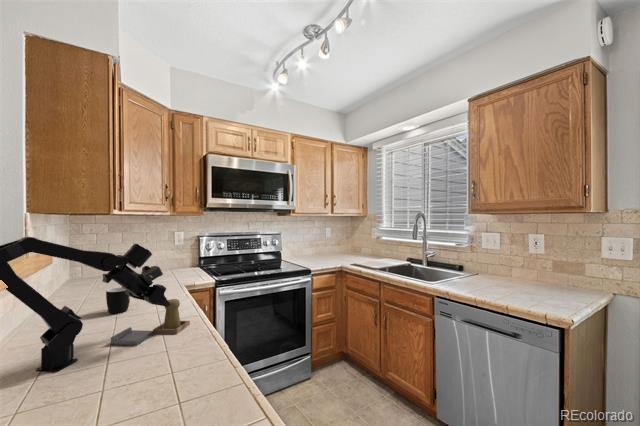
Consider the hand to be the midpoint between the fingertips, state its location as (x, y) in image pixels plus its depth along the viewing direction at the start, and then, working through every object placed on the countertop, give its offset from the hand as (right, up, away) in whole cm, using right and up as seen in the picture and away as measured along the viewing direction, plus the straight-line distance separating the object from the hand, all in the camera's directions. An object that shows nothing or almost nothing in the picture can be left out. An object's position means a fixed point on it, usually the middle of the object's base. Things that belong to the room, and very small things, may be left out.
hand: (162, 303), depth 106 cm
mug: (-34, -11, +24) cm, 43 cm away
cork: (+2, -11, +3) cm, 11 cm away
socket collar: (+2, -10, +3) cm, 11 cm away
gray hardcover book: (-7, -10, -7) cm, 14 cm away
